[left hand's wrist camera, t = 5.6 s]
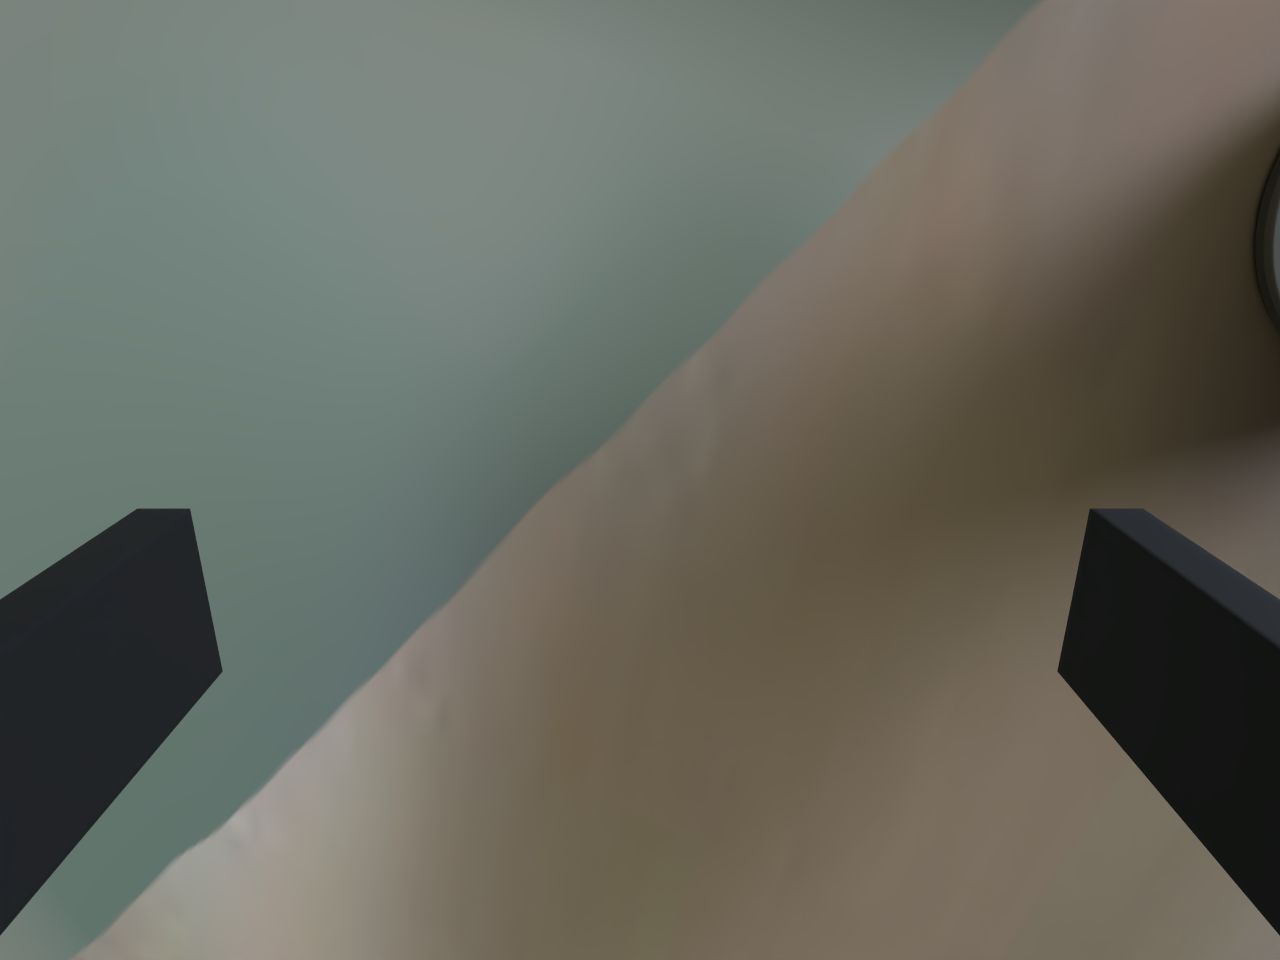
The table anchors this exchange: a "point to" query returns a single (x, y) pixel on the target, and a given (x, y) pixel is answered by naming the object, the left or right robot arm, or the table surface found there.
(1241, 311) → the table surface
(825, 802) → the table surface
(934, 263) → the table surface
